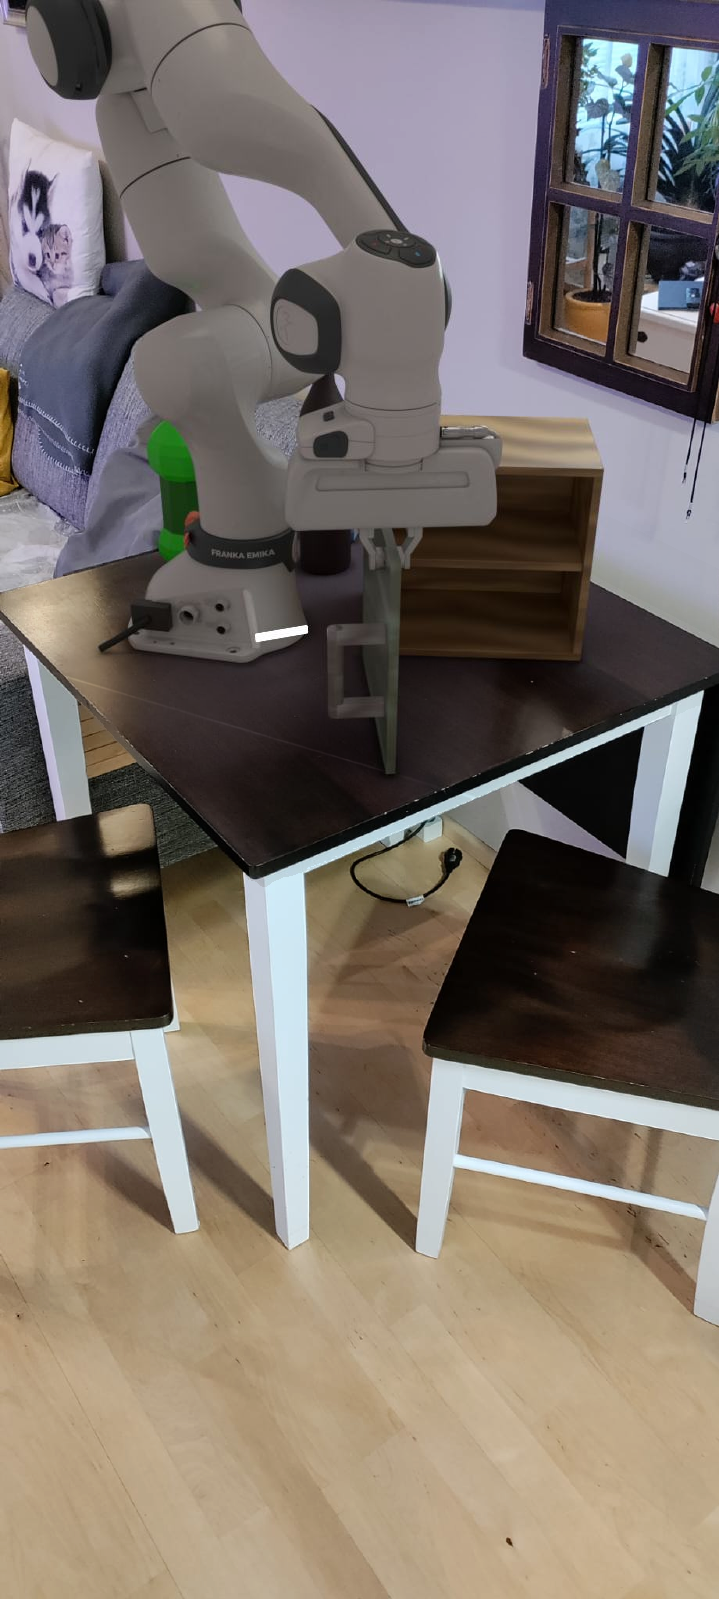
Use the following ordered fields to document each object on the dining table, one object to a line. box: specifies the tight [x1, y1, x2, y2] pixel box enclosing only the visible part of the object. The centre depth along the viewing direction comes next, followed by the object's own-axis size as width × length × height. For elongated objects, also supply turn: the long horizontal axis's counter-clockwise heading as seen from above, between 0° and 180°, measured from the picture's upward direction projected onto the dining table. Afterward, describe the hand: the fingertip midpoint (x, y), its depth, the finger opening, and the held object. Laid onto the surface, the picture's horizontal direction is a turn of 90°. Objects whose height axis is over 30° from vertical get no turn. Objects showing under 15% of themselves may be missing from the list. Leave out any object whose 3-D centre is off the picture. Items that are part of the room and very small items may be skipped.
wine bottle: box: [298, 373, 352, 575], centre depth 162 cm, size 7×7×30 cm
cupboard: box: [391, 414, 605, 661], centre depth 149 cm, size 18×26×24 cm
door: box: [326, 528, 401, 775], centre depth 130 cm, size 7×26×24 cm, turn 5°
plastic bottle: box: [146, 419, 199, 563], centre depth 162 cm, size 10×10×25 cm
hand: (388, 567), depth 119 cm, fingers closed on door
